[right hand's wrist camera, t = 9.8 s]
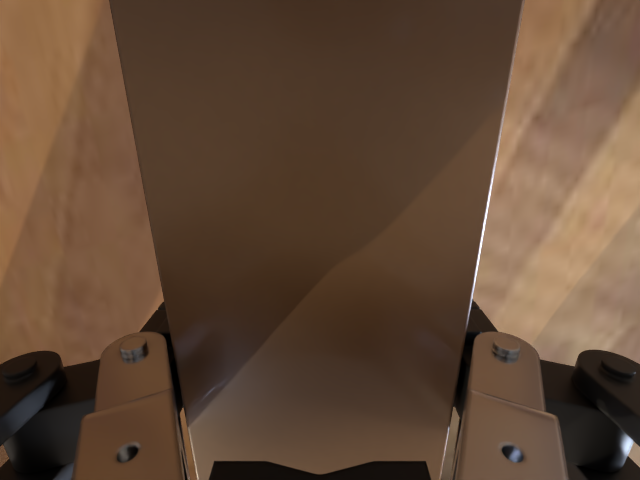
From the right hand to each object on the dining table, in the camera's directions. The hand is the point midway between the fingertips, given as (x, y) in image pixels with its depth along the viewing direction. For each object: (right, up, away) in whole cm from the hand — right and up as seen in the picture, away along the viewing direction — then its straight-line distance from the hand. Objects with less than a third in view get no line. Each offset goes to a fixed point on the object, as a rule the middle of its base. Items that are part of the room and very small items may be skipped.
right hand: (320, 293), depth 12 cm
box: (0, +9, +1) cm, 9 cm away
